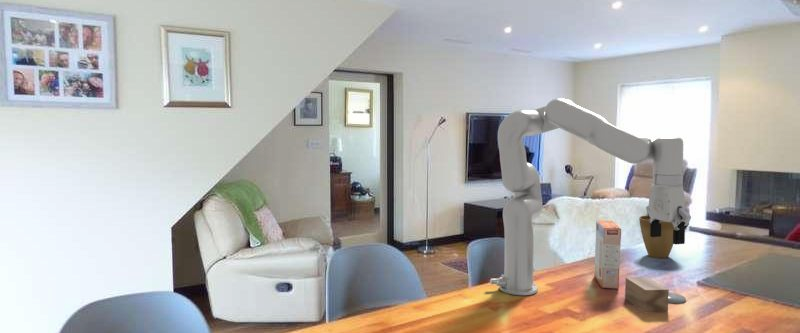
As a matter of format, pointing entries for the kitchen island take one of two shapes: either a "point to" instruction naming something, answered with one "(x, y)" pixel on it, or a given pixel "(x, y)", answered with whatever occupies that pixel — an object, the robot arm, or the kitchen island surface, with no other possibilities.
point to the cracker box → (607, 254)
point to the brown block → (646, 294)
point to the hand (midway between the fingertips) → (666, 240)
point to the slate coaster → (676, 298)
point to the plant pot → (657, 238)
